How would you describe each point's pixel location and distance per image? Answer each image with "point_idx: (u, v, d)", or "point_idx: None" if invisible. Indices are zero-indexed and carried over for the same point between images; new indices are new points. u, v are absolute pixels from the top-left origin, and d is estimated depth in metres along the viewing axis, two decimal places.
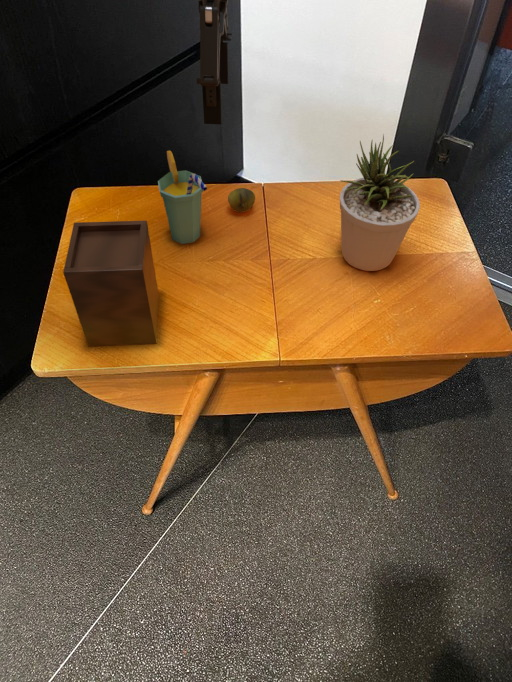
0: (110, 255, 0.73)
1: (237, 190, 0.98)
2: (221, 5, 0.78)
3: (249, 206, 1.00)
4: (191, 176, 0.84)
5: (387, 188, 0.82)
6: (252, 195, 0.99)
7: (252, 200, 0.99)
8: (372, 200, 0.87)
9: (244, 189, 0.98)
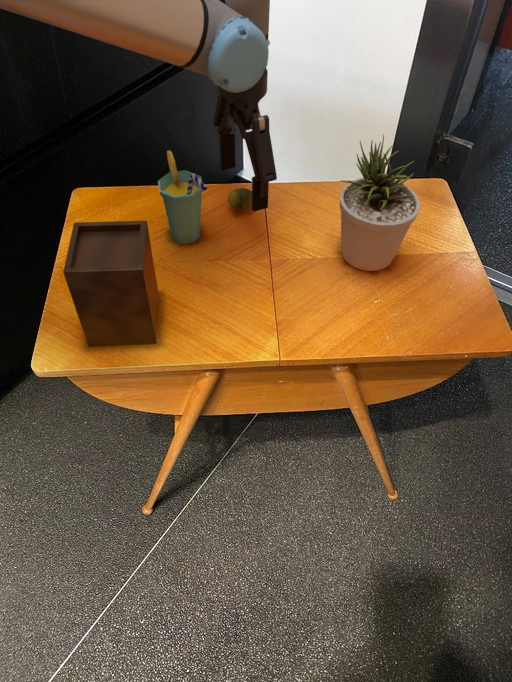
0: (110, 255, 0.73)
1: (237, 190, 0.98)
2: None
3: (249, 206, 1.00)
4: (191, 176, 0.84)
5: (387, 188, 0.82)
6: None
7: None
8: (372, 200, 0.87)
9: (244, 189, 0.98)
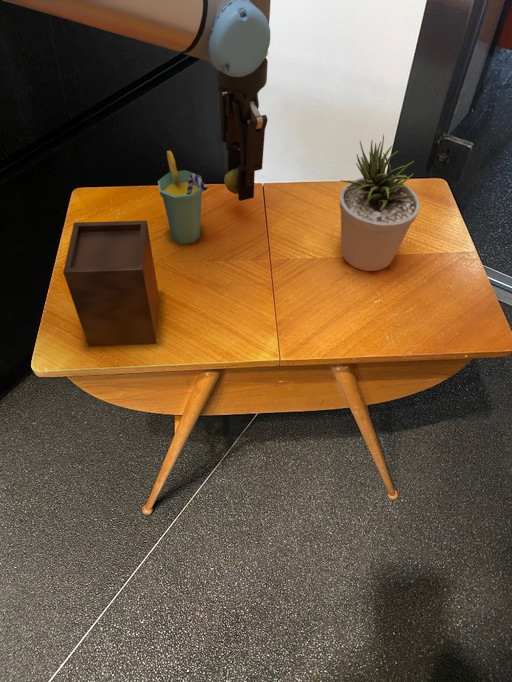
0: (110, 255, 0.73)
1: (234, 170, 0.95)
2: None
3: None
4: (191, 176, 0.84)
5: (387, 188, 0.82)
6: None
7: None
8: (372, 200, 0.87)
9: None
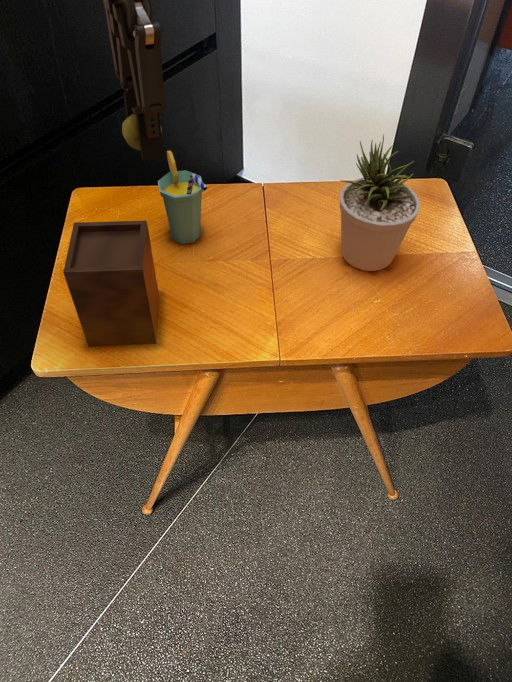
0: (110, 255, 0.73)
1: (133, 116, 0.68)
2: None
3: None
4: (191, 176, 0.84)
5: (387, 188, 0.82)
6: None
7: None
8: (372, 200, 0.87)
9: None
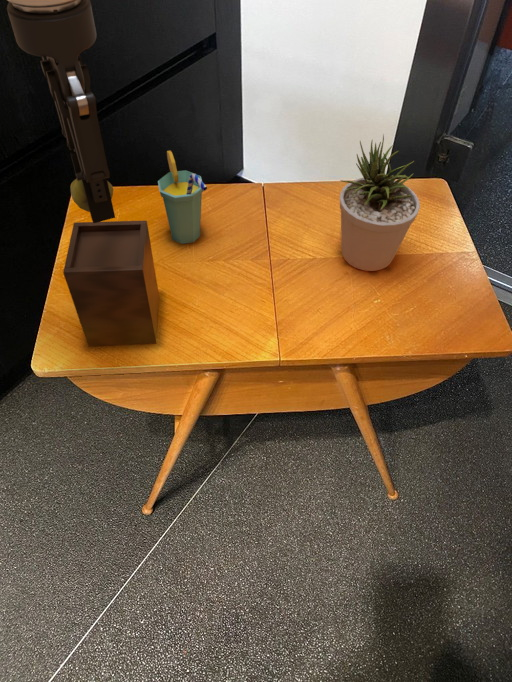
0: (110, 255, 0.73)
1: None
2: (82, 71, 0.54)
3: None
4: (191, 176, 0.84)
5: (387, 188, 0.82)
6: None
7: None
8: (372, 200, 0.87)
9: None
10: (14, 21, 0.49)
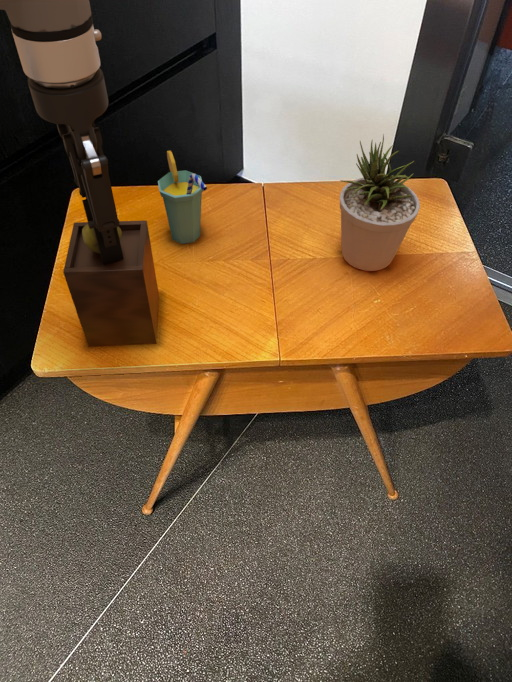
0: None
1: None
2: (95, 134, 0.59)
3: None
4: (191, 176, 0.84)
5: (387, 188, 0.82)
6: None
7: None
8: (372, 200, 0.87)
9: None
10: (35, 94, 0.54)
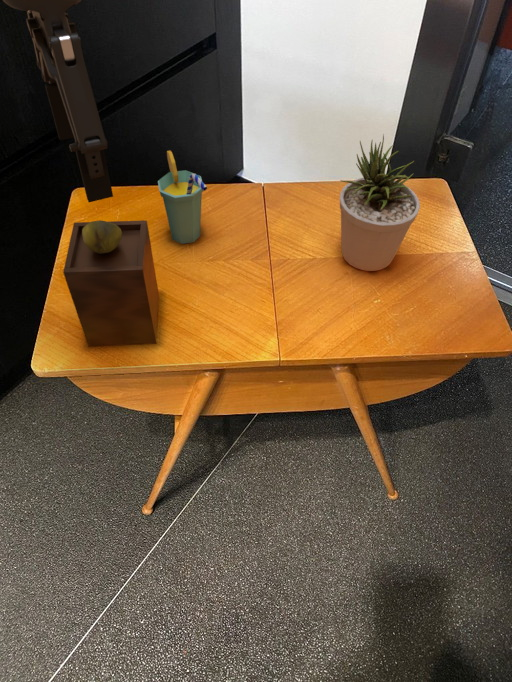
0: (110, 255, 0.73)
1: (91, 224, 0.69)
2: (70, 30, 0.51)
3: (111, 245, 0.71)
4: (191, 176, 0.84)
5: (387, 188, 0.82)
6: (114, 230, 0.70)
7: (115, 238, 0.70)
8: (372, 200, 0.87)
9: (101, 222, 0.69)
10: None
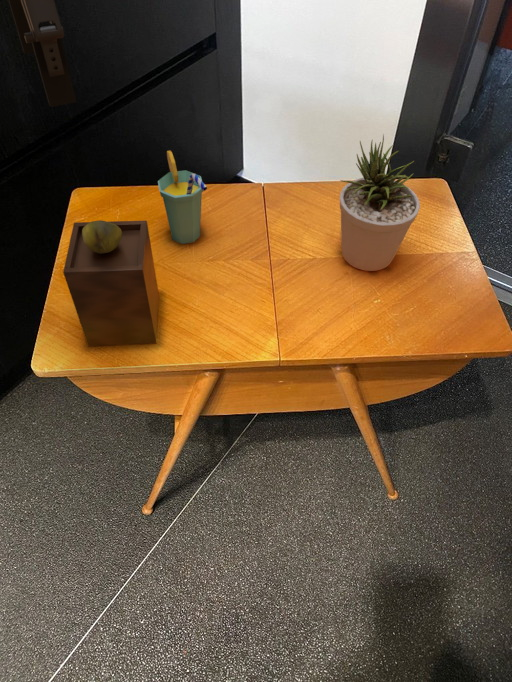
0: (110, 255, 0.73)
1: (91, 224, 0.69)
2: None
3: (111, 245, 0.71)
4: (191, 176, 0.84)
5: (387, 188, 0.82)
6: (114, 230, 0.70)
7: (115, 238, 0.70)
8: (372, 200, 0.87)
9: (101, 222, 0.69)
10: None
